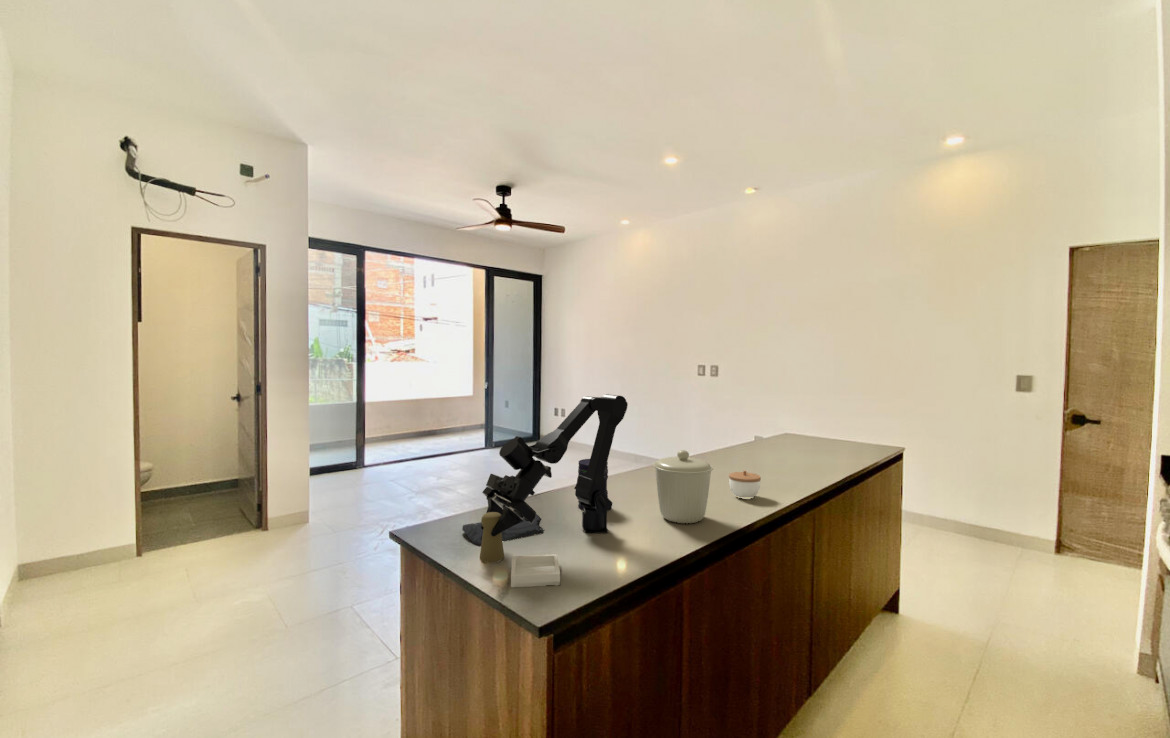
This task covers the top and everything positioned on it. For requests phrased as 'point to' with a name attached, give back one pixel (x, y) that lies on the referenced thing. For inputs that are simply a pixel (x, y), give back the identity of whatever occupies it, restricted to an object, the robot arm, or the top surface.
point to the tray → (535, 570)
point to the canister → (683, 487)
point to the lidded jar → (744, 484)
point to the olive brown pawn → (491, 539)
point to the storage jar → (583, 469)
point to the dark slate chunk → (511, 533)
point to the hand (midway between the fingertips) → (486, 532)
